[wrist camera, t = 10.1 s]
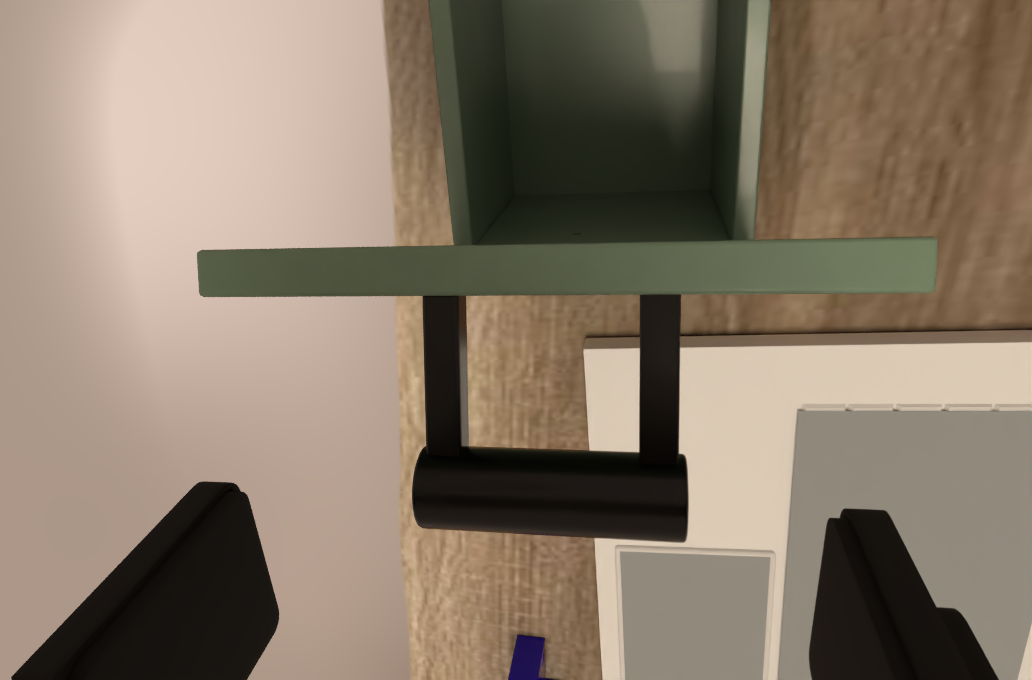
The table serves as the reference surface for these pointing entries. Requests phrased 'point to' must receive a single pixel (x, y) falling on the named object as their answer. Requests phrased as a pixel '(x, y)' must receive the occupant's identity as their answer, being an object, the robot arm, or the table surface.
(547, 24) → the bin
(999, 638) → the laptop
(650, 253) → the bin lid
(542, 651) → the cable holder
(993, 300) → the table surface
